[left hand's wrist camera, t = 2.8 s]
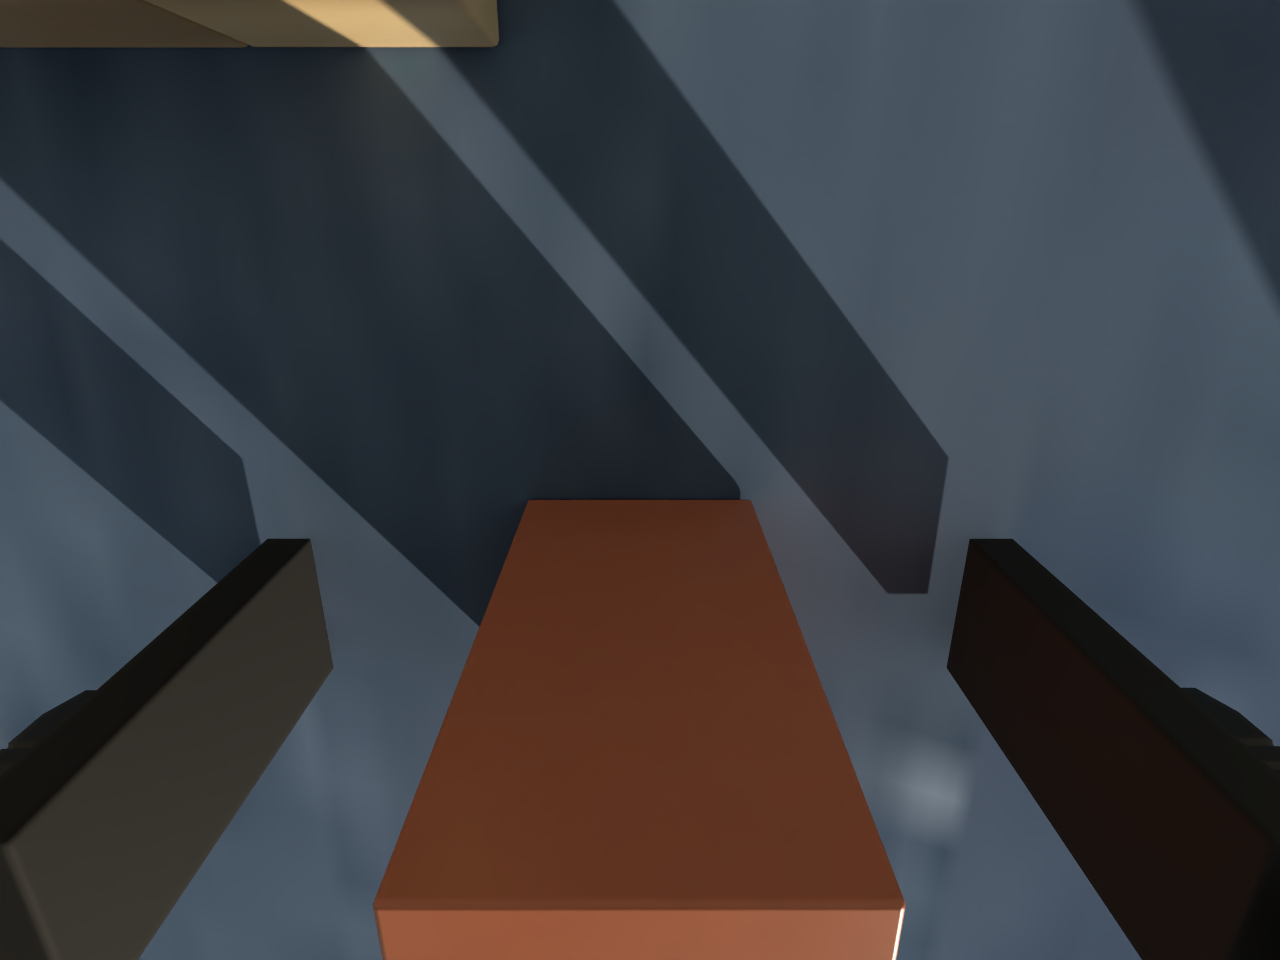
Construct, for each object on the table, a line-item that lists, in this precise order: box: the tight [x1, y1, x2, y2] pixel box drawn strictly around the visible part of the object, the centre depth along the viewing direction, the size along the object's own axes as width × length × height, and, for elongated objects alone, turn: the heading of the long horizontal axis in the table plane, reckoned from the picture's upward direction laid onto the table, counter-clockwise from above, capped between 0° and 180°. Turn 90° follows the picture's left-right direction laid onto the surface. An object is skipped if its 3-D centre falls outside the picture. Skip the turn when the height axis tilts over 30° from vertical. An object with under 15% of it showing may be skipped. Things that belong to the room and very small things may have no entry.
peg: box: [373, 500, 905, 960], centre depth 10 cm, size 4×4×8 cm
